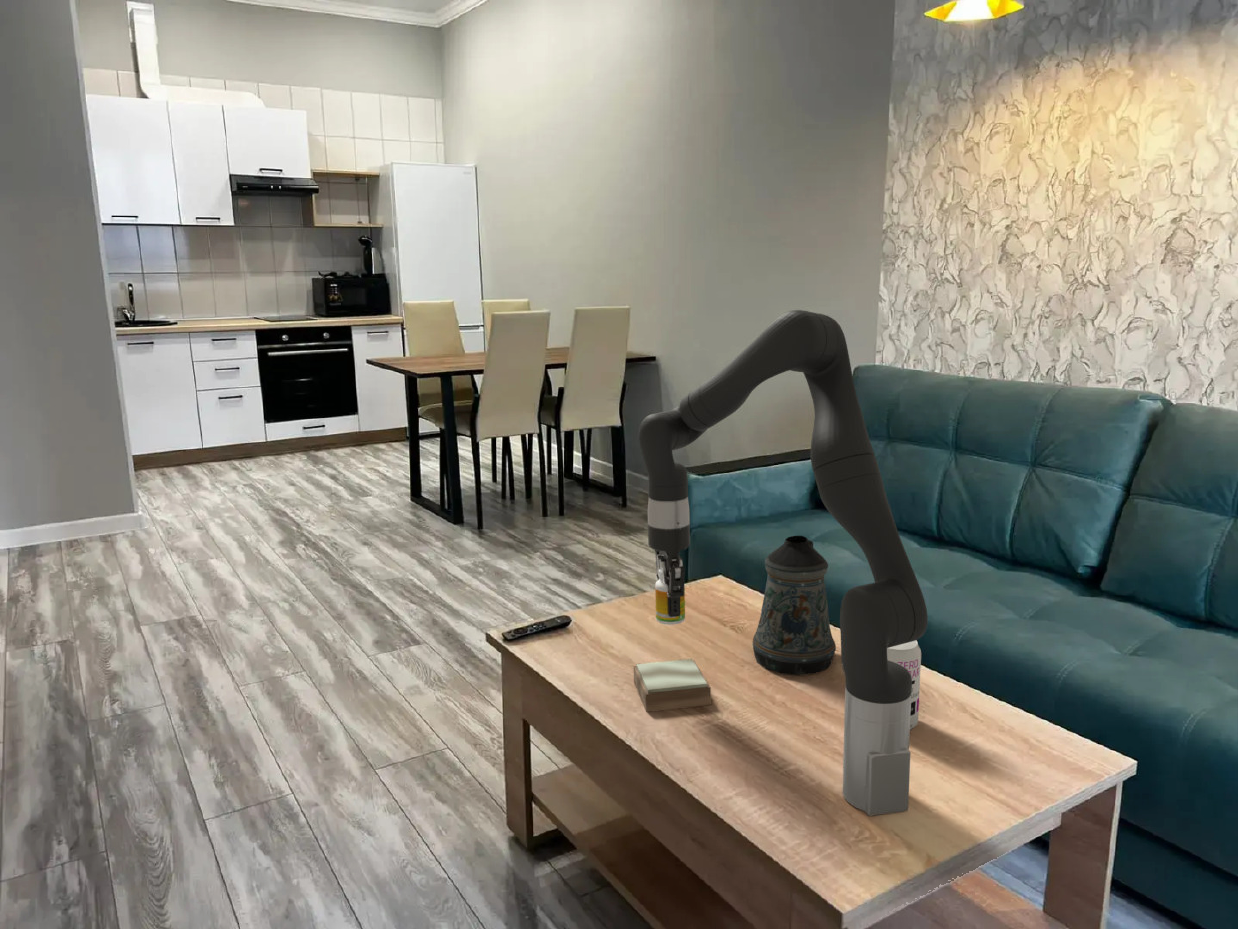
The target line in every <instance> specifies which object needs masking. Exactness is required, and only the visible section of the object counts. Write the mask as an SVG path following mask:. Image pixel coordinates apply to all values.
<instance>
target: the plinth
mask: <svg viewBox="0 0 1238 929" xmlns="http://www.w3.org/2000/svg"><path fill="white" fill-rule="evenodd" d="M633 684H634V686H635V688H636V690H637V694H638V696H639V697H640V700H641V702H642V705H643V708H644V710H645V712H646V713H649V712H659V711H667V710H676V709H686V708H696V707H703V706H711V705H712V700H711V699H712V698H711V697H712V696H711V695H712V694H711V692H712V689H711V686H710V683H708V681H707V679H706V678H705V676H704V674H703V673H702V671H701V669H700V668H699V666H698V664H697V663H696V661H695V659H693V658H684V659H676V660H666V661H665V660H664V661H658V662H656V661H655V662H647V663H637V664H636V665H634V666H633Z"/></svg>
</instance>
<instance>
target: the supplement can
mask: <svg viewBox="0 0 1238 929" xmlns="http://www.w3.org/2000/svg"><path fill="white" fill-rule="evenodd" d="M887 660H889V661H892V662H895V663H897V664H899V665H901V666H903V667H904V668H906V669H907V670H908V671H909V673H910V674H911V678H912V693H911V713H910V731H911V730H912V729H913V728H915V727H916V726H917V725H918V723H919V709H920V708H919V707H920V687H921V668H922V666H921V665H922V651H921V648H920V646H919V644H918V641H917V640H915V641H912V642H908V643H905V644H901V645H897V646H893V647H889V648H887Z"/></svg>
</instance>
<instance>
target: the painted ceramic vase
mask: <svg viewBox="0 0 1238 929" xmlns="http://www.w3.org/2000/svg"><path fill="white" fill-rule="evenodd" d="M764 567H765V570H766V573H767V577H766V584H765V590H764V596H763V600H762V606H761V609H760V610H761V611H760V616H759V621H758V624H757V628H756V632H754V635H753V638H752V650H753V654H754V658H755V661H756V663H757V664H759V665H760V666H761V667H763V668H764V669H765V670H769V671H772V672H775V673H778V674H783V675H790V676H791V675H792V676H799V677H800V676H806V675H813V674H819V673H821V672H823V671H825V670H827V669H829V668H831V666H832V663H833V660H834V656H835V653H836V649H837V648H836V647H837V646H836V641H835V640H834V637H833V634H832V631H831V625H830V617H829V606H828V599H827V591H826V585H825V575H826V574H827V573H828V568H829V563H828V561H827V560H826V558H825V557H824V556H823V555H821V553H820V552H818V551H817V550H816V549H815V547H814V542H813V541H812V540H809V539H808V538H807V537H806V536H804V535H792V536H788V537H786V538H785V540H784V543H783V544H782V545H780V546H779V547H778V548H777V549H774V550H773V551H772V552H771V553H769V555H768V556H767V557H766V558H765V560H764Z"/></svg>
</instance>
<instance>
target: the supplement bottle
mask: <svg viewBox="0 0 1238 929" xmlns="http://www.w3.org/2000/svg"><path fill="white" fill-rule="evenodd" d="M659 578H660V579H658V580H657V581H656V582H655V584H654V586H655V587H654V590H655V591H654V592H655V594H654V595H655V619H656V622H658V623H659V624H661V625H666V626H667V625H669V626H671V625H672V626H673V625H679V624H682V623H683V622H685V620H686V598H685V597H686V594H685V593H686V592H685V591H686V585H685V584H684V597H680V616H677V617H669V615H668V603H667V589H666V585H665V584H664V583H663V576H662V569H661V568H660V569H659ZM667 579H668V580H670V577H667ZM673 590H677V586H675V587H674V588H673Z"/></svg>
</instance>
